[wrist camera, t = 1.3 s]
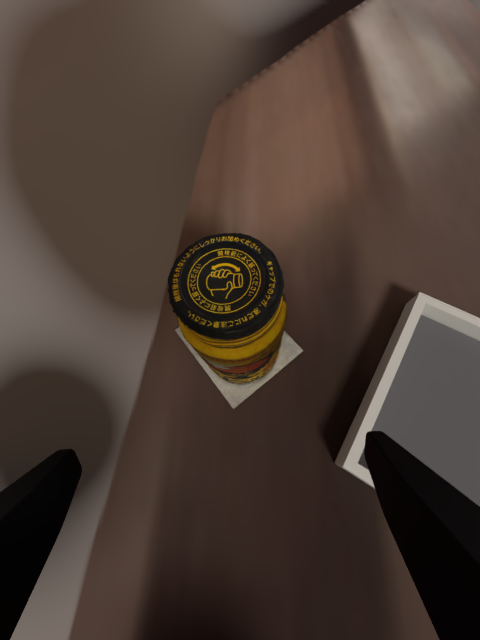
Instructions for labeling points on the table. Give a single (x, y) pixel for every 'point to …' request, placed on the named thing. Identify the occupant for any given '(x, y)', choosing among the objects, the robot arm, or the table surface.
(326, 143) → the table surface
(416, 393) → the tray
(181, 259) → the condiment
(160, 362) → the table surface
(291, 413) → the table surface
